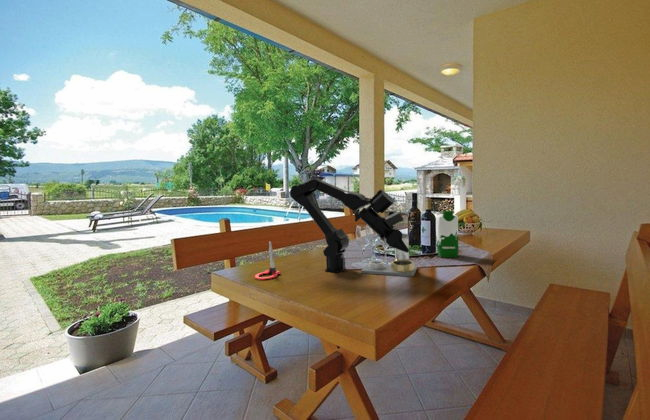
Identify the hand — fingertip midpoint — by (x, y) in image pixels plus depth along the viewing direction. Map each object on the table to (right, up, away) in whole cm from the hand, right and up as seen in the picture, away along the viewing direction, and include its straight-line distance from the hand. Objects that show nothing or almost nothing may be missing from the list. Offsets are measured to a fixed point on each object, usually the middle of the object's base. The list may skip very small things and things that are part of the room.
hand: (404, 249), depth 121 cm
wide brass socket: (-1, -9, +1) cm, 9 cm away
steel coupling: (-1, -8, +1) cm, 8 cm away
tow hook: (-52, -11, +2) cm, 53 cm away
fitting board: (-5, -9, +3) cm, 10 cm away
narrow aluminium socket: (-10, -9, +4) cm, 14 cm away
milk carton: (+25, -6, +23) cm, 34 cm away
